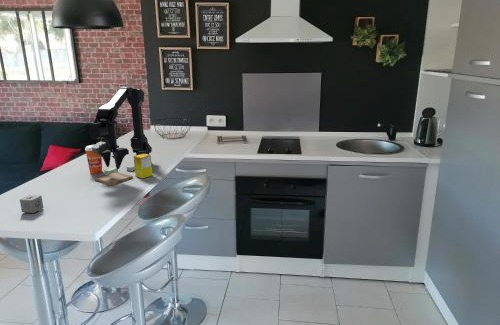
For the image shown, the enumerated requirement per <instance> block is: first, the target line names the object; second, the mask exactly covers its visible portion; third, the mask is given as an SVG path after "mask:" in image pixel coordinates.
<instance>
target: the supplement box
mask: <svg viewBox="0 0 500 325" xmlns="http://www.w3.org/2000/svg"><path fill="white" fill-rule="evenodd" d="M151 162H152V155H150V154H149V155H148V154H140V155H136V154H135V155H133V164H134V166H135V170H134V175H135V177H136V178H139V179H141V180H143V179H144V180H145V179H147V178H150V177H153V166H152V163H151Z"/></svg>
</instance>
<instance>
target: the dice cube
mask: <svg viewBox="0 0 500 325" xmlns="http://www.w3.org/2000/svg"><path fill="white" fill-rule="evenodd" d="M42 196H43V195H39V194H38V195H37V194H36V195H35V194H28V195H27V196H23V197H22V198H20V199H19V203H20V208H21V213H29V214H35V213H36V212H39V211H41V210H43V209H44V204H43V197H42Z"/></svg>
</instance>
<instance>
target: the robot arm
mask: <svg viewBox="0 0 500 325" xmlns="http://www.w3.org/2000/svg"><path fill="white" fill-rule="evenodd" d="M126 101H127V103H128V104H129V105H130V109H131V117H132V118H131V119H132V127H133V136H132V137H131V138H130V140H129V141H130V147H131V149H132V153H134V154H135V155H140V154H148V155H150V154H151V153H152V152H153V147H152V146H151V144H149V140H148V138H147V136H146V135H145V132H144V131H145V130H144V122H143V110H142V105H143V104H144V101H145V91H143V89H141V88H133V87H131V86H130V87H129V86H121V87H119V89H118V91H117V92H116V93H115V95H114V96H113V97H112V98H111V100H110V101H108V103H105V104H103V105H101V106H100V107H98V109H97V112H96V116H95V119H94V121H93V123H91V126H90V127H89V128H88V136H89V137H90V138H91V139H92V140H98V139H100V141H98V142H96V144H92V145H93V146H92V147H91V148H92V150H93V152H94V153H96V154H99V155H101V156H102V161H104V164H105V167H107V168H109V167H110V166H111V157H112V158H113V159H114V163H115V168H117V169H118V170H119V169H120V168H121V166H122V162H123V160H124V159H125V157H126V156H127V155H129V154H130V152H129V149H128V147H127V148H126V147H120V145H118V143H117V142H118V141H117V140H118V139H119V136H117V130H116V125H117V124H118V122H117V121H116V120H115V119H116V118H117V117H118V115H119V109H120V107H122V105H123V104H124V102H126ZM151 164H152V161H151Z"/></svg>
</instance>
